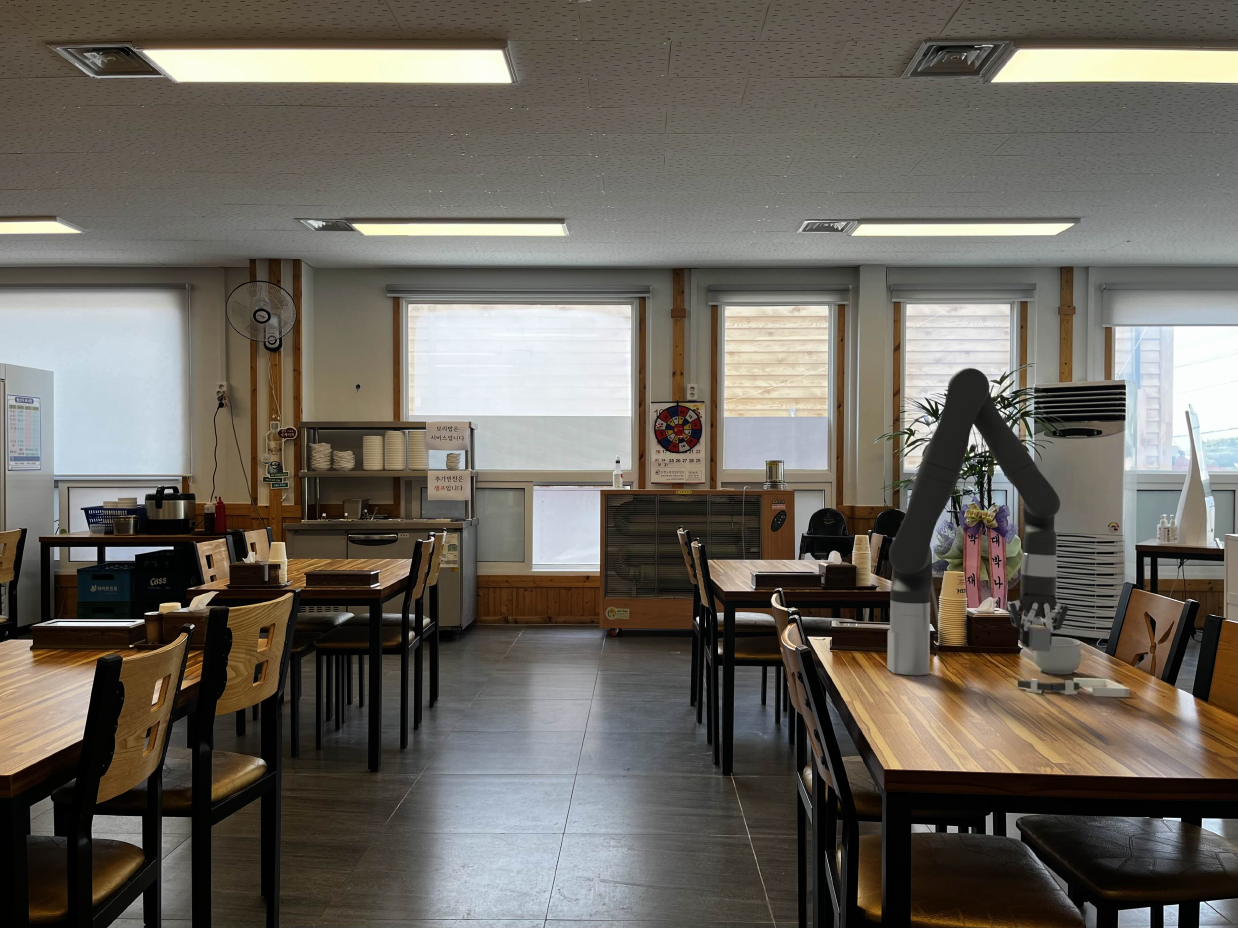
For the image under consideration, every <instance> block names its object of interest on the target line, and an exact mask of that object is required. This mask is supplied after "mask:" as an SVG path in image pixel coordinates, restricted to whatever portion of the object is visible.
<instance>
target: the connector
mask: <svg viewBox="0 0 1238 928" xmlns="http://www.w3.org/2000/svg"><path fill="white" fill-rule="evenodd" d="M1028 631H1029V647H1025V648H1026V649H1028V650H1030V651H1050V634H1051V630H1050V629H1048V628H1046V627H1044V626H1043V625H1040V624H1031V625H1030V628H1029V630H1028ZM1020 645H1021V647H1024V646H1023V645H1022V644H1021V643H1020Z"/></svg>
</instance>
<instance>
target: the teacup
mask: <svg viewBox="0 0 1238 928" xmlns="http://www.w3.org/2000/svg"><path fill="white" fill-rule="evenodd" d="M1081 645H1082V642H1081V641H1080V640H1078V639H1075V638H1070V637H1063V636H1052V639H1051V646H1050V651H1033V660H1034V663H1035V665H1036V666H1037V667H1038V668H1039V669H1040V670H1041V671H1042V672H1044V673H1046V674H1052V675H1063V676H1064V675H1071V674H1073V673H1074V672H1075V671H1076V670H1077V669H1079V667H1080V666H1081V659H1082V654H1081V650H1082V648H1081V647H1082V646H1081Z"/></svg>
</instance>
